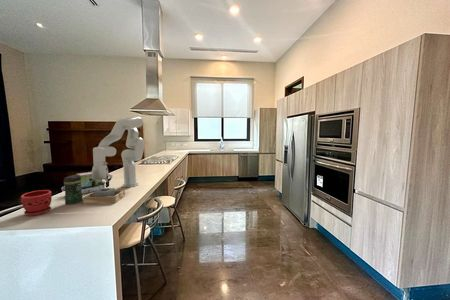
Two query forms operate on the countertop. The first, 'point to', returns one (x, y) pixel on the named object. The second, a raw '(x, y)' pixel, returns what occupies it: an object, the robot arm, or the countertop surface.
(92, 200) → the oak crate
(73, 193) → the coffee jar
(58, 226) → the countertop surface
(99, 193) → the inlet socket
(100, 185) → the salt shaker
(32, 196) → the plant pot
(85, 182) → the tea box
